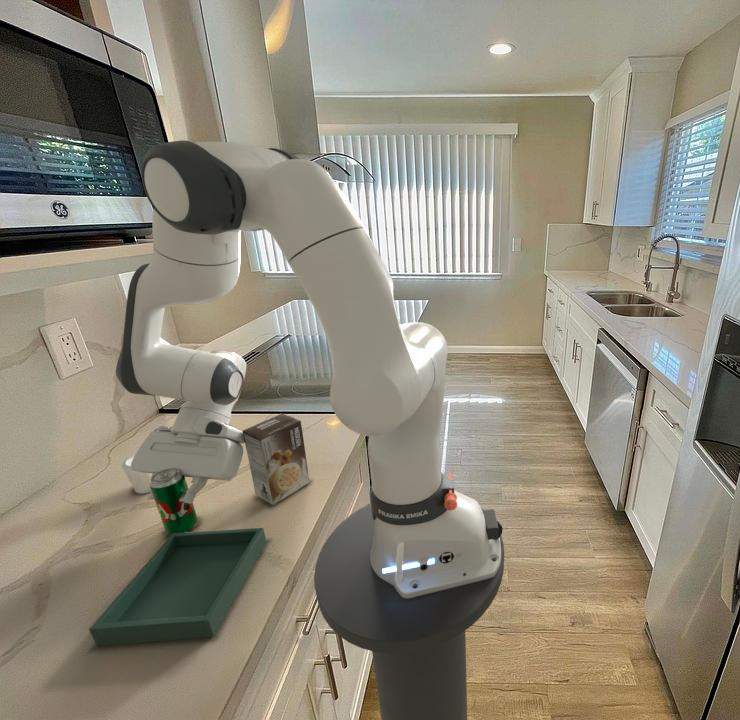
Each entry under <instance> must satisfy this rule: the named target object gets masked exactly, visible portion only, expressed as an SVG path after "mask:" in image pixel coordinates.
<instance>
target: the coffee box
mask: <svg viewBox="0 0 740 720" xmlns="http://www.w3.org/2000/svg"><path fill="white" fill-rule="evenodd" d="M242 432H243V436H244V440H245V443H244V446H245V449H246V454H247V460H248V464H249V469H250V474H251V479H252V484H253V489H254V494H255V495H256V496H257V497H258V498H261V499H262V500H264V501H265V502H267V503H269V504H270V505H272V506H274V505H276V504H278V503H279V502H281V501H282V500H284V499H285V498H287V497H289V496H290V495H292V494H293V493H295V492H296V491H299V490H300V489H302V488H303V487H304V486H306V485H308V484H309V483H310V481H311V480H310V473H309V468H308V461H307V454H306V448H305V441H304V433H303V426H302V421H301V420H299V419H297V418H295V417H293V416H291V415H287V414H284V413H280V414H277V415H275V416H272V417H271V418H269V419H266V420H264V421H261V422H259V423H257V424H255V425H252V426H250V427H248V428H245V429H243V430H242Z"/></svg>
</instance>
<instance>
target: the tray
mask: <svg viewBox="0 0 740 720" xmlns="http://www.w3.org/2000/svg"><path fill="white" fill-rule="evenodd" d="M266 544H267V538H266V533H265V528H264V527H255V528H254V527H253V528H238V529H236V528H235V529H220V530H204V531H187V532H185V533H172V535H169V537H168V538H167V539H166V540H165V541H164V542H163V543H162V545H161V546H160V547H159V548H158V549H157V550H156V552H154V554H153V555H152V556H151V557H150V559H149V560H148V561H147V562H146V563H145V564H144V566H143V567H142V568H141V569H140V570H139V571H138V573H136V575H135V576H133V578H132V579H131V580H130V582H128V583H127V585H126V586H125V587H124V588H123V589H122V591H121V592H120V593H119V594H118V595H117V596H116V598H115V599H113V601H112V602H111V603H110V604H109V606H108V607H107V608H106V609H105V610H104V611H103V613H102V614H101V615H100V616H99V617H98V618H97V619H96V621H94V623H92V625H91V626H90V627H89V629H88V631H89V633H90V635H91V637H92V639H93V641H94V643H95V645H96V647H103V646H117V645H129V644H141V643H142V644H143V643H154V642H167V641H179V640H180V641H181V640H193V639H204V638H205V639H206V638H215V635H216V633H217V632H218V630H219V628H220V626H221V625H222V623H223V621H224V620H225V618H226V616H227V614H228V612H229V611H230V608H231V607H232V605H233V603H234V601H235V600H236V598H237V596H238V594H239V592H240V591H241V588H242V587H243V585H244V583H245V582H246V580H247V578H248V576H249V575H250V573H251V570H252V569H253V567H254V565H255V564H256V561H257V560H258V558H259V556H260V554H261V553H262V551H263V549H264V547H266V546H265V545H266Z"/></svg>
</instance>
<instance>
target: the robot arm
mask: <svg viewBox="0 0 740 720" xmlns="http://www.w3.org/2000/svg"><path fill="white" fill-rule="evenodd" d="M140 173H141V174H140V175H141V182H142V188H143V190H144V193H145V196H146V198H147V200H148V202H149V203H150V205H151V207H152V208H153V209H152V244H153V247H152V248H153V254H152V258H151V260H150V262H148V263H145V264H142V265H140V266H139V267H137V269H136V270H135V271H134V273H133V275H132V276H131V279H130V282H129V286H128V292H127V295H126V297H127V298H126V304H125V305H126V306H125V316H124V324H123V335H122V343H121V344H122V346H121V350H120V353H119V356H118V358H117V363H116V367H115V375H116V378H117V380H118V381H119V383H120V385H121V386H122V387H123V388H124V389H125V390H126V391H127V392H128V393H130V394H133V395H142V396H143V395H144V396H153V397H154V396H155V397H156V396H157V397H162V398H169V399H174V400H179V401H185V402H184V403H183V404H182V405H181V406H180V409H179V411H178V414H177V416H176V417H175V420H174V423H173V424H172V426H167V425H161V426H160V425H159V426H158V427H157V428H154V429H153V430H151V431H150V432H149V434H148V435H147V437H146V438H145V439H144V440H143V442H142V443H141V445H140V446H139V448H138V449H137V451H136V453H135V454H134V455H135V457H134V458H133V460H132V462H131V468H132V470H133V471H138V472H143V473H152V476H153V475H155V474H156V473H158V472H160V471H163V470H166V469H170V468H177V469H179V470H180V472H181V473H182V474H183V475H184V476H185V478H192V479H191V480H190V483H191V484H192V485H191V486H189V487H188V490H187V492H182V494H181V497H180V499H179V502H182V503H193V504H194V501H195V498H196V495H197V494H198V493H200V491H201V490H202V489H203V488H205V486H206V485H207V483H208V480H215V481H216V480H217V481H226V482H229V481H232V480H233V479H234V478H235V477H236V476H237V474H238V472H239V469H240V467H241V463H242V460H243V456H244V447H243V444H245V440H244V436H243V430H239V429H237V428H235V427H234V426H233V425H231V424H230V421H231V419H232V418H231V417H232V411H233V407H234V406H235V405H236V403H237V402H238V401H239V397H240V395H241V391H242V389H243V386H244V382H245V379H246V378H245V377H246V371H247V362H246V360H245V359H244V358H243V357H241V356H240V355H239V354H237V353H235V352H232V351H229V350H224V349H215V350H212V351H210V352H209V351H204V350H198V349H194V348H189V347H188V348H187V347H183V346H178V345H175V344H171V343H169V342H167V341H165V340H164V338H162V337H161V334H162V329H163V323H164V315H165V310H166V308H170V307H171V308H172V307H177V306H178V307H179V306H196V305H197V306H198V305H204V304H207V303H211V302H213V301H217V300H219V299H221V298H223V297H225V296H226V295H227V294H229V293H230V292H231V291H232V290H233V289H234V288H235V287H236V285H237V283H238V280H239V276H240V269H241V232H259V231H267V233H268V234H270V235H271V236H272V237H273V239H274V241H275V242H276V243H277V245H278V247H279V249H280V251H281V253H282V255H283V256H284V259H285V260H286V262H287V264H288V265H289V267H290V268H291V271H292V272H293V274H294V275H295V278H297V281H298V282H299V284H300V286H301V287H302V289H303V291H304V293H305V294H306V297H307V298H308V300H309V302H310V303H311V305H312V307H313V308H314V310H315V312H316V315H317V317H318V319H319V321H320V324H321V327H322V329H323V332H324V336H325V339H326V343H327V346H328V351H329V356H330V360H331V368H332V376H331V377H332V378H331V385H330V389H329V401H330V405H331V408H332V410H333V412H334V415H335V416H336V418H337V419H338V420H339V422H341V423H342V424H343V425H344V426H345V427H346V428H348V429H349V430H350V431H352V432H353V433H356V434H358V435H361V436H364V437H368V440H367V454H368V463H369V472H370V481H371V483H370V488H369V503H370V505H371V511H372V515H373V519H374V522H375V523H374V539H373V545H372V549H371V553H370V562H371V566H372V568H373V570H374V571H375V573H376V574H377V575H378V576H379V577H380V578H381V579H383V580H385V581H387V582H388V583H390V584H392V585H393V586H394V587H395V589H396V590H397V592H398V593H399V595H400V596H401V597H403V598H407V599H408V598H413V597H417V596H421V595H425V594H429V593H433V592H437V591H441V590H445V589H449V588H453V587H457V586H461V585H465V584H469V583H473V582H477V581H482V580H486V579H489V578H492V577H494V576H495V575H496V573H497V571H498V569H499V567H500V563H501V544H500V536H502V534H503V532H504V531H503V530H504V529H503V525H502V524H501V523H500V521H498V520H497V515H496V512H495V511H496V510H495V509H493V508H492V509H483V508H482V507H481V505H480V503H479V502H478V501H477V500H476V499H474V498H472V497H470V496H468V495H465V494H463V493H461V492H459V491H457V490H455V483H454V481H453V475H452V473H451V471H450V470H449V471H448V476H446V475H445V474H444V473H442V464H441V463H442V462H441V459H442V458H441V428H442V427H441V426H442V417H443V411H444V410H443V409H444V399H445V398H444V397H445V386H446V369H447V360H448V354H449V348H448V343H447V340H446V339H445V338H446V337H445V336H444V335H443V334H442V332H441V331H440V330H439V329H438V328H436V327H435V326H434V325H431V324H429V323H426V322H421V321H416V322H408V323H403V324H401V322H400V318H399V315H398V311H397V308H396V303H395V297H394V289H395V286H394V281H393V278H392V276H391V274H390V272H389V270H388V269H387V267H386V265H385V263H384V261H383V259H382V257H381V255H380V254H379V252H378V249H377V248H376V246H375V244H374V242H373V241H372V238H371V236H370V235H369V233H368V231H367V229H366V228H365V226H364V224H363V222H362V220H361V218H360V216H359V215H358V213H357V212H356V210H355V209H354V207H353V206H352V204H351V203H350V200H349V199H348V198H347V197H346V195H345V194H344V192H343V191H342V189H341V188H340V187H339V185H338V184H337V183H336V181H335V180H334V179H333V178H332V176H331V175H330V174H329V172H327V170H326V169H325V168H324V167H322V166H321V165H320V164H318V163H316V162H315V161H312V160H309V159H304V158H300V157H298V156H297V155H295V154H293V153H291V152H289V151H286V150H282V149H280V148H275V147H270V148H265V147H261V146H254V145H248V144H241V143H238V142H233V141H196V142H193V141H190V140H186V139H185V140H183V139H181V140H173V141H168V142H167V141H166V142H163V143H159V144H156V145H153V146H152V147H150V148H149V149H148V150H147V152H146V153H145V155H144V158H143V160H142V166H141V172H140ZM173 470H175V469H173ZM152 476H151V478H152ZM151 478H150V480H151ZM148 499H149V500H154V497H153V494H152V491H151V492H149V495H148ZM481 508H482V509H483V511H482V509H481ZM414 587H417V588H414Z"/></svg>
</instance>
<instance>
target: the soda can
mask: <svg viewBox="0 0 740 720" xmlns="http://www.w3.org/2000/svg"><path fill="white" fill-rule="evenodd" d="M173 469H175V470H173ZM150 488H151V491H152V494H153V497H154V499H153V501H154V503H155V505H156V509H157V511H158V514H159V517H160V520H161V521H162V522H161V523H162V526H163V529H164V531H165V534H167V535H169V536H171V535H172V533H185V532H190V530H192V529H193V528H194V527H195V526H196V524H197V523H198V519H199V518H198V515H197V513H196V509H195V506H194V502H193V503H182V502H179V499H180V497H181V494H182V492H187V490H188V489H189V486H188V483H187V480H186V477H185V476H184V475H183V474H182V473H181V472H180V470H179V469H177V468H170V469H166V470H163V471H160V472H158V473H156V474H155V475H153V476H152V478H151V483H150Z"/></svg>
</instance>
